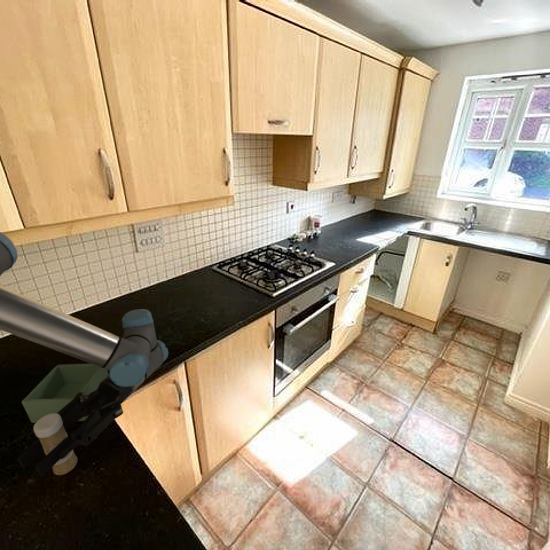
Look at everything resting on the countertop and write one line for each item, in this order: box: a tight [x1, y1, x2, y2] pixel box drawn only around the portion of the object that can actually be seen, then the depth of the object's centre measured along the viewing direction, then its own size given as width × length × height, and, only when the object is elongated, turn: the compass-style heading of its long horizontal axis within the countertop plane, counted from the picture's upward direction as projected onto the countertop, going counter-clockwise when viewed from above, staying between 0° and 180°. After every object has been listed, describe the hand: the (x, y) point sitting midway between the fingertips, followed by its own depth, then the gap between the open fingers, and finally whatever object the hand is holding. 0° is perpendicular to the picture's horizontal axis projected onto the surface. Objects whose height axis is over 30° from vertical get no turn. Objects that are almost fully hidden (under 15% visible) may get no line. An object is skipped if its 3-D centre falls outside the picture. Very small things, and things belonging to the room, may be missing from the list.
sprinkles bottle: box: [32, 413, 78, 476], centre depth 63 cm, size 5×5×13 cm
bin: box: [21, 363, 109, 424], centre depth 87 cm, size 15×15×8 cm
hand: (30, 466), depth 58 cm, fingers closed on sprinkles bottle, 4 cm apart
